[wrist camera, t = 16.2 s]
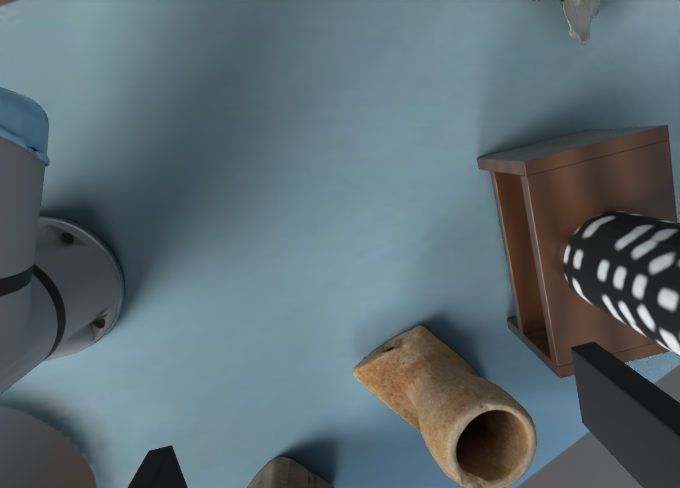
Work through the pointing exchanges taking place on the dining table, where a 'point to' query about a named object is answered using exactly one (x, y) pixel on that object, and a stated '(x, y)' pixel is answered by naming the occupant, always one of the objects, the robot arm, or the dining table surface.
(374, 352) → the stone cup
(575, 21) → the artificial flower
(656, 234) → the spotted tube
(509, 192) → the rack
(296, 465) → the container
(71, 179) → the dining table surface
